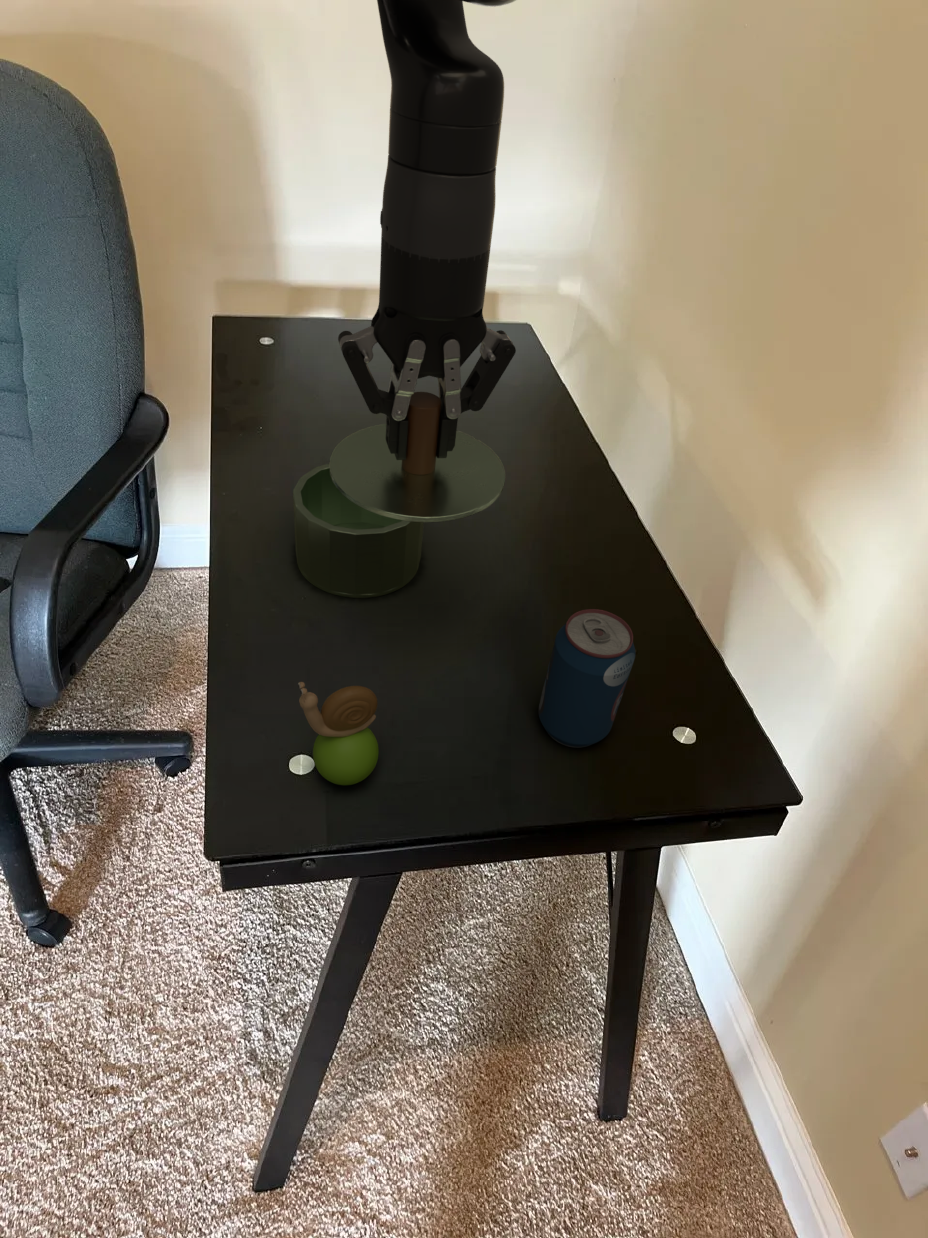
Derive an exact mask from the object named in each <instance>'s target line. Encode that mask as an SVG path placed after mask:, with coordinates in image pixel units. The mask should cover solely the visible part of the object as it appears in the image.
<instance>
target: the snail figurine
mask: <svg viewBox="0 0 928 1238" xmlns="http://www.w3.org/2000/svg"><path fill="white" fill-rule="evenodd" d="M297 687H298V689H299V690H300V697H299V700H298V702H299V706H300V708H301V709H302V710H303V714H304V717H305V718H306V721H307V724H309V726H310V728H311V729H312V730H313V731H314V732H315V733H316V734H318V735H317V736H316V738H315V741H314V743H313V746H312V747H313V748H312V759H313V763H314V766H315V768H316V770H317V771H318V773H319V774H320V775H321V776H322V777H323V778H324V779H325V780H326V781H328V782H330V783H331V784H335V785H338V786H352V785H355V784H358V783H360V782H362V781H364V780H366V779H367V778H368V777H369V776H370V775H371V773H372V772H373V771H374V770H375V768H376V765H377V763H378V759H379V756H380V755H379V753H380V752H379V751H380V749H379V743H378V740H377V738H376V736H375V734H374V733H373V731H372V730H371V729H370V728H369V726H370V725H372V724H373V723H374V721H375V720H376V718H377V715H376V714H375V713H376V712H377V709H378V706H379V705H378V698H377V695H376V694H375V692H374V691H373V690H371V689H370V688H368V687H366V686H363V685H362V686H361V685H350V686H346V687H345V686H344V687H342V688H340V689H337V690H336V691H334V692H333V693H331V694H330V695H329V696H328V697H327V698H326V699H325V700H324V702H323V704H322V706H321V709H320V710H319V707H318V703H319V698H318V696H317V694H315V693H314V692H311V691H308V689H307V688H306V683H305V682H304V681H299V682H298V684H297Z"/></svg>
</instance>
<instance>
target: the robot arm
mask: <svg viewBox="0 0 928 1238" xmlns="http://www.w3.org/2000/svg"><path fill="white" fill-rule="evenodd" d="M376 2H377V3H376V4H377V9H378V15H379V22H380V28H381V36H382V41H383V46H384V50H385V54H386V60H387V64H388V69H389V73H390V74H389V75H390V101H389V107H390V108H389V122H388V123H389V124H388V146H387V147H388V151H387V153H388V154H387V155H388V156H387V165H386V171H385V178H384V183H383V190H382V204H381V205H382V206H381V210H380V214H379V215H380V217H379V225H380V228H381V233H380V234H381V237H380V265H379V266H380V267H379V289H378V290H379V293H378V306H377V309H376V311H375V314H374V315H373V316H372V319H371V323H370V325H369V326H368V327H366V328H364V329H362V330H359V331H357V332H355V333H353V332H352V331H350V330H342V331H341V332H340V333H339V335H338V337H337V340H338V344H339V348H340V351H341V353H342V356H343V359H344V360H345V363H346V364H347V367H348V369H349V371H350V373H351V376H352V377H353V379H354V381H355V383H356V386H357V387H358V390H359V391H360V393H361V396H362V398H363V400H364V402H365V404H366V407H367V409H368V411H369V412H370V413H371V414H373V415H379V414H383V415H385V417H386V418H385V419H386V420H385V424H386V438H385V439H386V442H387V445H388V448H389V450H390V453H391V454H395V457H396V460H406V451H407V436H408V419H407V412H408V408H409V403H410V399H411V396H412V395H413V394H414V392H416V391H415V390H416V387H417V382H418V379H423V378H425V377H431V378H432V377H433V378H437V387H438V397H439V398H440V399H441V411H440V422H439V433H438V443H437V454H436V456H437V458H446V457H447V451H452V450H453V448H454V446H455V439H456V431H457V430H458V422H459V421H458V420H459V418H460V416H461V415H462V414H463V413H465V412H467V411H472V412H478V411H480V410H482V409H483V407H484V405H485V404H486V403H487V401H488V400H489V398H490V396H491V395H492V392H493V391H494V389H495V388H496V386H497V385H498V383H499V381H500V379H501V377H502V376H503V375H504V373H505V371H506V369H507V368H508V366H509V365H510V363H511V361H512V360H513V358H514V356H515V355H516V352H517V349H516V346H515V344H514V343H513V341H512V340H511V338H510V337H509V336H508V334H507V333H506V331H504V330H502V329H501V330H497V331H495V330H493V329H491V328H489V327H487V323H486V320H485V319H484V315H483V312H484V311H483V310H484V306H485V305H484V304H485V296H486V289H487V279H488V271H489V263H490V255H491V246H492V238H493V230H494V221H495V214H496V177H497V176H496V174H497V164H498V156H499V146H500V138H501V129H502V120H503V112H504V102H505V78H504V74H503V71H502V69H501V68H500V66H499V64H497V62H496V61H494V60H493V59H492V58H491V57H490V56H489V55H487V54H486V53H485V52H483V50H481V49H479V48H478V47H477V46H476V44H474V43H473V41H472V40H471V38H470V36H469V33H468V27H467V21H466V16H465V11H464V10H465V9H464V2H465V3H469V4H471V5H477V6H481V7H490V8H491V7H493V8H495V7H502V6H506V5H510V4H512V3H514V2H517V0H376ZM376 344H378V345H379V347H380V348H381V349H382V351H383V352H384V353H385V355H386V356H387V358H388V359H389V361H390V362H391V365H390V371H389V383H388V387H387V391H385V390H383V389H380V388H379V387H378V384H377V383H376V379H375V378H374V376H373V374H372V371H371V370H370V367H369V366H368V364H369V363H370V362H372V360H373V358H374V353H373V348H374V346H375V345H376ZM478 347H479V354H480V356H479V357H478V360H477V361H476V363H475V365H474V366H473V369H472V370H471V371H470V373H469V375H468V376H467V379H466V381H465V382H464V384H463V385H462V377H461V376H462V375H461V368H462V366H463V365H464V364H465V363H466V361H467V360H468V359H469V358H470V357H471V355H472V354H473V353H474V352H475V351H476V350H477V348H478Z"/></svg>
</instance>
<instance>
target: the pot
mask: <svg viewBox="0 0 928 1238" xmlns="http://www.w3.org/2000/svg"><path fill="white" fill-rule="evenodd" d="M329 464H330V462H329V463H325V464H322V465H318V466H316V467H314V468H312V469H311V470H309V471H308V472H306V473H305V474H303V475H301V476H300V478H299V479H298V480H297V483H296V485H295V487H294V488H293V490H292V500H293V501H292V503H293V524H294V525H293V526H294V545H295V547H294V548H295V557H296V564H297V569H298V570H299V572H300V573H301V575H302V577H303V578H304V579H305V580H306V581H307V582H308V583H310V585H312V586H314V587H315V588H317V589H319V590H322V591H323V592H325V593H328V594H331V595H335V596H339V597H344V598H350V599H369V598H375V597H376V598H377V597H381V596H385V595H389V594H392V593H394V592H396V591H398V590H400V589H402V588H403V587H405V586H407V585H408V584H409V583H410V582H411V581H412V580H413V579H414V577H415V576H416V574H417V573H418V570H419V568H420V567H419V566H420V561H421V559H422V549H423V536H424V525H425V524H424V523H425V522H411V521H403V520H398V519H393V518H388V517H385V516H382V515H378V514H376V513H373V512H370V511H368V510H366V509H364V508H362V507H360V506H358V505H356V504H355V503H353V502H352V501H350V500H349V499H348V498H346V497H345V496H344V495H343V494H342V493H341V492H340V491H339V490H338V489H337V487H336V486H335V484H334V483H333V481H332V478H331V475H330V467H329Z"/></svg>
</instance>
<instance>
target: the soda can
mask: <svg viewBox="0 0 928 1238" xmlns="http://www.w3.org/2000/svg"><path fill="white" fill-rule="evenodd" d="M635 659H636V648H635V644H634V634H633V630H632V628H631V627H630V625H629V624H628V623H627V622H626V621H625V620H624V619H623V618H621V617H620V616H618V615H617V614H615V613H612V612H610V611H607V610H604V609H597V608H596V609H595V608H588V609H587V608H586V609H582V610H578V611H576V612H574V613H572V614H571V615H570V617H568V619H567V620H566V623H564V624H563V625H562V626H561V627H560V628H559V630H558V631H557V632H556V635H555V638H554V641H553V646H552V651H551V655H550V659H549V663H548V666H547V671H546V675H545V680H544V684H543V687H542V690H541V691H542V692H541V695H540V699H539V704H538V709H537V711H538V712H537V713H538V718H539V720H540V723H541V725H542V727H543V728H544V730H545V731H546V734H548V735H549V736H550V738H551V739H553V740H554V741H556V742H557V743H558V744H560V745H562V746H566V747H569V748H577V749H578V748H580V749H581V748H586V747H590V746H593V745H595V744H597V743H599V742H601V741H602V740H603V739H604V738H606V737H607V736H608V735H609V733H610V732H611V730H612V727H613V725H614V722H615V719H616V716H617V713H618V710H619V706H620V703H621V701H622V698H623V696H624V691H625V689H626V686H627V683H628V680H629V677H630V674H631V671H632V668H633V665H634V663H635Z"/></svg>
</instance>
